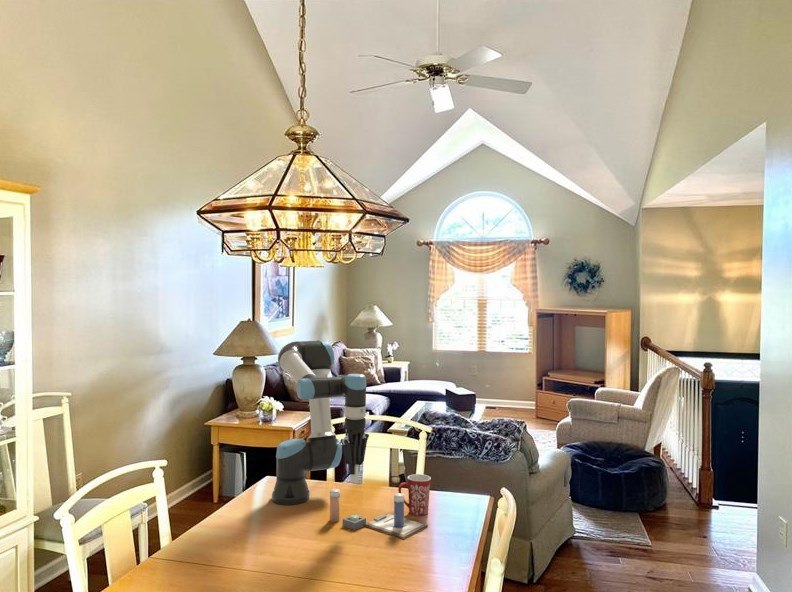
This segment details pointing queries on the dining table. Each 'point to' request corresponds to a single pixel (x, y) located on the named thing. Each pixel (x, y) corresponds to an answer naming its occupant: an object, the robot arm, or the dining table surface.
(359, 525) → the button housing
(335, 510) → the pale pink bottle
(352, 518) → the button
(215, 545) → the dining table surface
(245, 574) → the dining table surface
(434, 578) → the dining table surface
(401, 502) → the blue bottle
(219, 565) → the dining table surface
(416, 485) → the mug
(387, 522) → the clipboard
